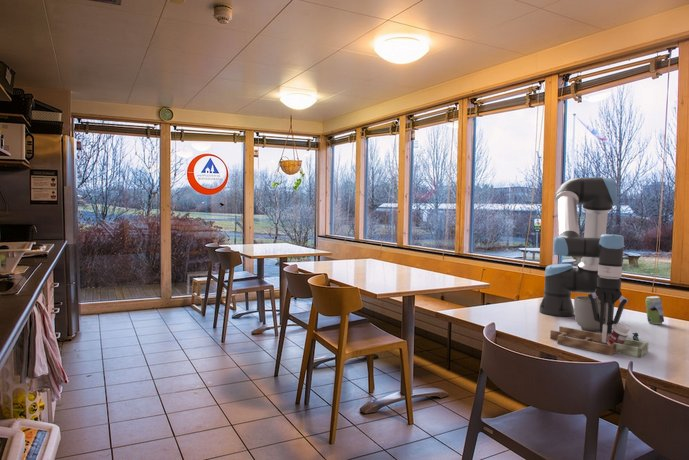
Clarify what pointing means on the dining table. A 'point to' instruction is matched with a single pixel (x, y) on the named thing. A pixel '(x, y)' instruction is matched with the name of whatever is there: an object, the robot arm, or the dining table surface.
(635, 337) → the sculpture
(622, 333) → the pill bottle
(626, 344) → the open divided box
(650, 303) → the beverage can
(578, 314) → the planter
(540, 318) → the dining table surface
